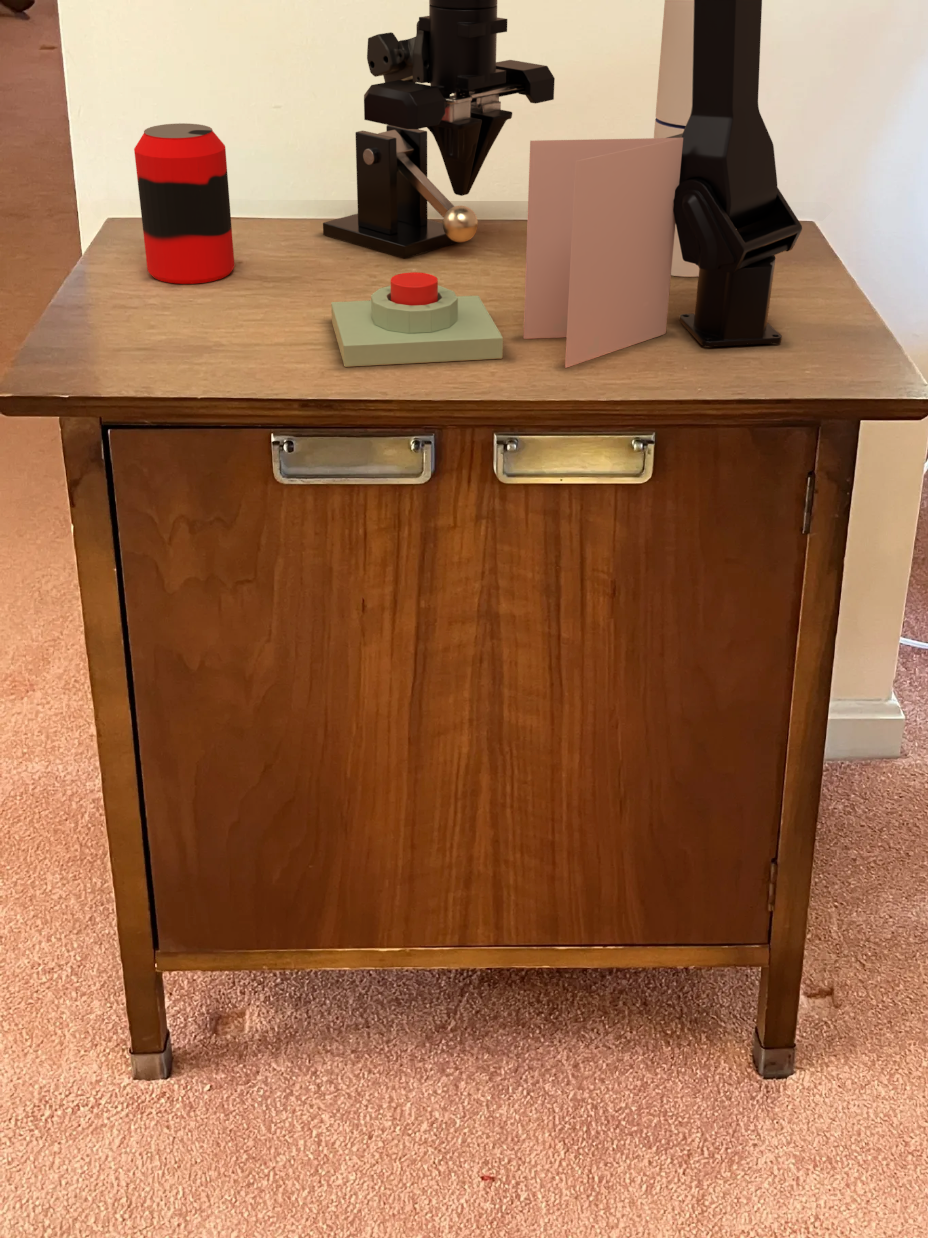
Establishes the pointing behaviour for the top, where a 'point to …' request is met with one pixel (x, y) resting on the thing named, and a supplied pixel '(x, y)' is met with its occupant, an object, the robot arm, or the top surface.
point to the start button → (414, 289)
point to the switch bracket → (389, 200)
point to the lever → (435, 195)
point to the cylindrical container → (676, 92)
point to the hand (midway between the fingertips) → (461, 194)
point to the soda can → (184, 203)
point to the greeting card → (600, 242)
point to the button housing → (415, 330)
